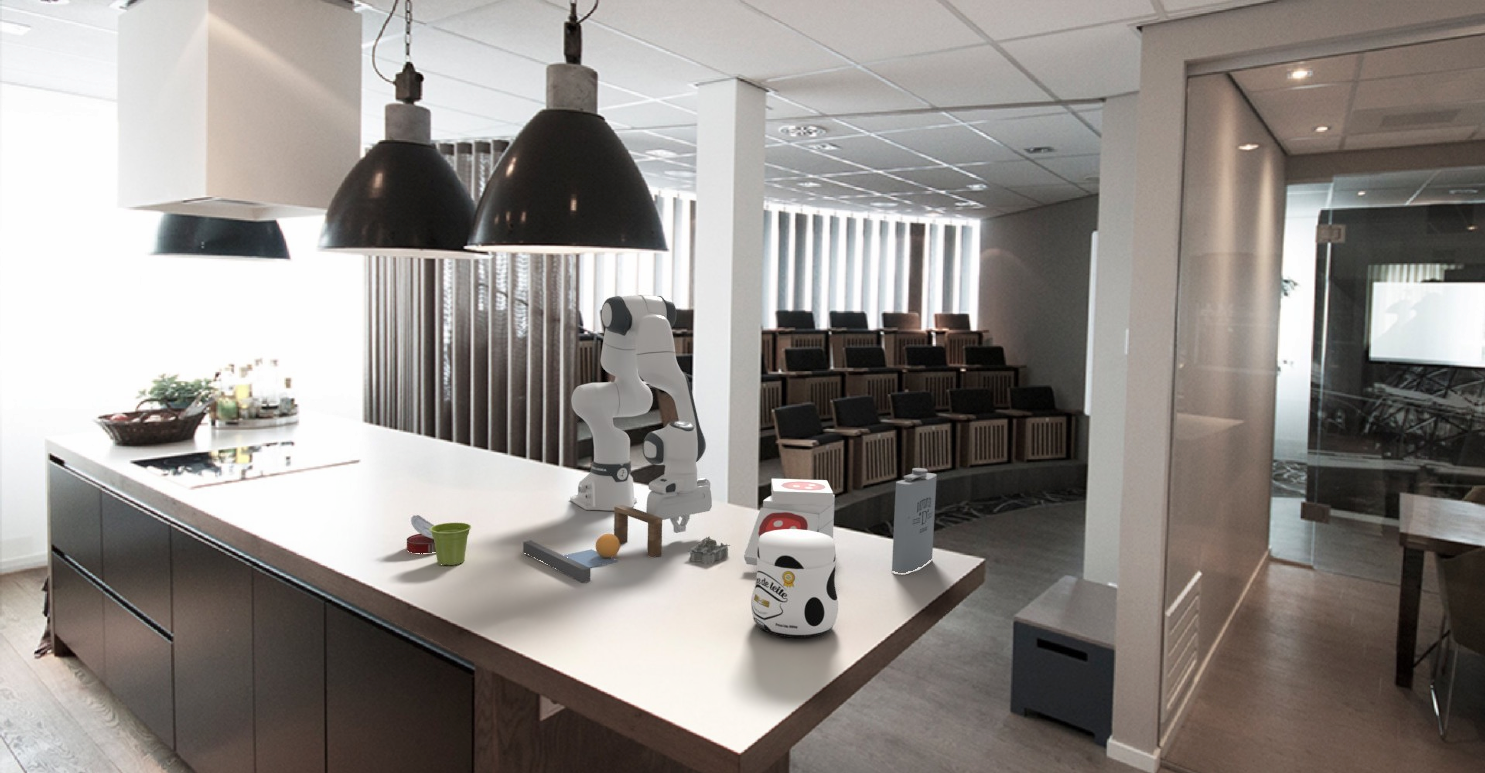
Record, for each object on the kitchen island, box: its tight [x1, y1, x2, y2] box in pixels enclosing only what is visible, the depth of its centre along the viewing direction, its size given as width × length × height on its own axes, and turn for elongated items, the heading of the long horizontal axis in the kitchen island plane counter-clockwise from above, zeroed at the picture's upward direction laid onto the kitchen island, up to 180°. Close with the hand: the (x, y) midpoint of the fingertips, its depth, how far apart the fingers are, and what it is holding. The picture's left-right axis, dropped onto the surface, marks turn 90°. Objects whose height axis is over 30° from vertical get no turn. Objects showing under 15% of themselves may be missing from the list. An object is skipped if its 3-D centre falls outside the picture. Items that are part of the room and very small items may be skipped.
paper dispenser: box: [743, 478, 836, 566], centre depth 206 cm, size 19×30×18 cm, turn 159°
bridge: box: [613, 505, 663, 558], centre depth 212 cm, size 3×17×10 cm, turn 43°
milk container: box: [750, 529, 839, 638], centre depth 162 cm, size 17×17×18 cm
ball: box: [595, 533, 621, 558], centre depth 204 cm, size 6×6×6 cm
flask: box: [891, 467, 938, 573], centre depth 203 cm, size 17×5×25 cm, turn 143°
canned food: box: [406, 514, 436, 554], centre depth 207 cm, size 11×10×10 cm
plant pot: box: [430, 522, 472, 566], centre depth 196 cm, size 9×9×9 cm
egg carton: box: [687, 536, 731, 565], centre depth 207 cm, size 11×8×4 cm
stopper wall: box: [522, 539, 592, 584], centre depth 196 cm, size 28×2×3 cm, turn 43°
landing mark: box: [563, 548, 619, 569], centre depth 201 cm, size 12×12×1 cm
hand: (679, 531), depth 222 cm, fingers closed
